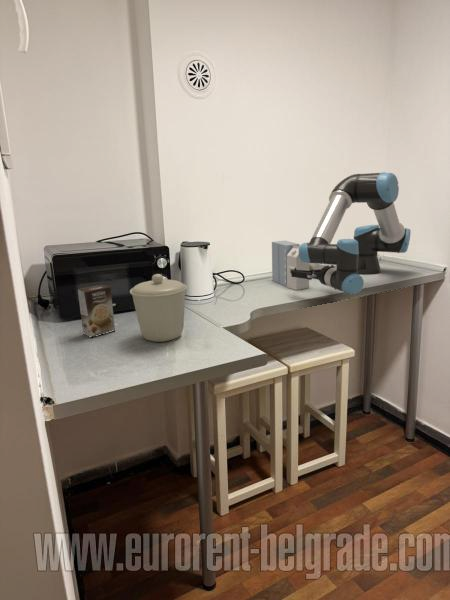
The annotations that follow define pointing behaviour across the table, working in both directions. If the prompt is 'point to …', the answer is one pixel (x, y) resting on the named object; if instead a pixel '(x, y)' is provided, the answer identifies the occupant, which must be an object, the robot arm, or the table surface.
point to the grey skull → (312, 266)
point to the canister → (160, 308)
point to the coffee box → (96, 309)
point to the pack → (280, 260)
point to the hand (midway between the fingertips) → (302, 267)
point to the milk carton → (296, 263)
